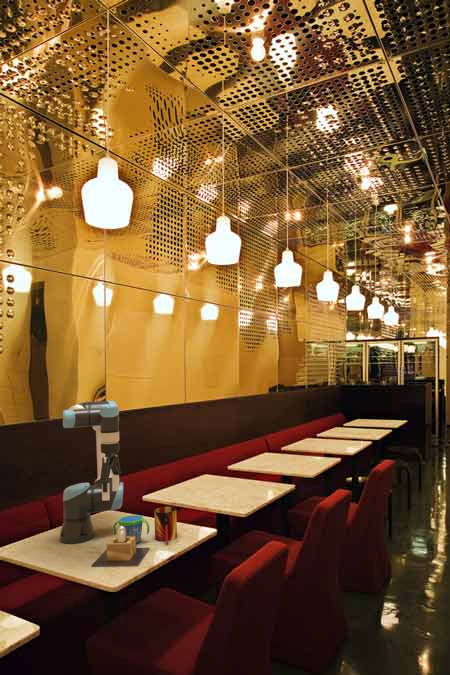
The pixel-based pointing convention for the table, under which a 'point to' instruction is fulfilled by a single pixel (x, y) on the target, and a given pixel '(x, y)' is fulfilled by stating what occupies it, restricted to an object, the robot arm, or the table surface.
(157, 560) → the table surface
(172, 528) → the mug
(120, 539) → the post stand
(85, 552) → the table surface
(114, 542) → the square wooden frame
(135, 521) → the snack cup
